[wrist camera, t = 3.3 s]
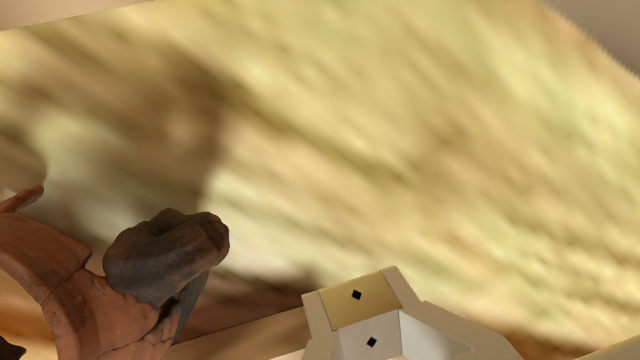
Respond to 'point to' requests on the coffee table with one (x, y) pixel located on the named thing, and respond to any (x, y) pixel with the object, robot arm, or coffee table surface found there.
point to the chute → (223, 346)
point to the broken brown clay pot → (111, 281)
